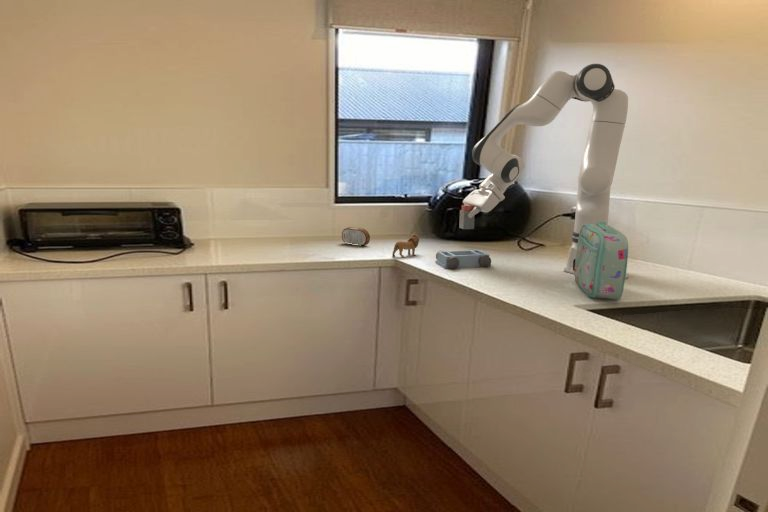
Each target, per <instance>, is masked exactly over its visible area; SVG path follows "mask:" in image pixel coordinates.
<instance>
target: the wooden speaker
mask: <svg viewBox="0 0 768 512" xmlns="http://www.w3.org/2000/svg"><path fill="white" fill-rule="evenodd" d="M341 239H342V242H343V243H345V242H347V243H352V244H358V245H365V246H367V245H369V242H370V240H371V236H370V233H369V231H368V230H367V229H365V228H361V227H353V226H348V227H346V228H343V230H342V232H341Z"/></svg>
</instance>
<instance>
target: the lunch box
mask: <svg viewBox="0 0 768 512" xmlns="http://www.w3.org/2000/svg"><path fill="white" fill-rule="evenodd" d="M628 241H629V240H628V239H627V236H626V235H625V234H623V233H622V232H621V231H619V230H618V229H616V228H614V227H613V226H610V225H607V226H606V222H599V221H598V222H597V224H584V225H583V226H582V228H581V231H580V234H579V238H578V244H577V251H576V258H575V259H574V261H573V271H574V274H573V275H574V282H575V284H576V285H577V286H578V287H579V288H580V290H581V291H583V292H584V293H585V294H586V295H587V296H588V297H590V298H591V299H593V298H594V299H595V298H597V299H609V300H610V299H611V300H618V301H619V300H620V299H621V298H622V296H623V293H624V287H625V282H626V279H625V277H626V274H627V269H628V258H629V242H628Z"/></svg>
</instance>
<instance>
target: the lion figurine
mask: <svg viewBox="0 0 768 512" xmlns="http://www.w3.org/2000/svg"><path fill="white" fill-rule="evenodd" d="M419 242H420V236H419V235H418V234H417V233H413V234H410V237H409V239H408V240H405V241H402V240H398V241H396V242H395V244H394V247H393V251H392V255H391V256H392V258H395V257H396V255H395V253H396V252H397V251H399V255H400V257H401V258H405V255H403V251H404V250H406V251H407V255H408V256H411V255H412V256H413V255H414V257H415V256H416V254H415V251H416V249H417V247H418V246H419ZM411 251H412V253H411ZM410 254H411V255H410Z"/></svg>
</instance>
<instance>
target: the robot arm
mask: <svg viewBox="0 0 768 512" xmlns="http://www.w3.org/2000/svg"><path fill="white" fill-rule="evenodd" d="M615 86H616V85H615V83H614V80H613V77H612V74H611V72H610V70H609V68H608V67H607V66H605V65H603V64H601V63H590V64H588V65H586V66H584V67H583V68H582V69H581V70H580V71H579V72H578V73H576V74H574V75H572V74H569V73H568V72H566V71H561V70H557V71H554V72H553V73H551V74H550V75H549V76H548V77H547V78H546V79H545V80H544V81H543V82H542V83H541V84H540V85H539V87H538V89H537V90H536V91H535V92H534V94H533V95H532V96H531V98H529V99H528V100H527V101H525V102H524V103H522V104H516V105H515V106H513V107H512V108H511V109H510V110H509V111H508V112H507V113H506V114H504V116H503V117H502V118H501V119H500V120H499V121H498V122H497V123H496V125H494V127H493V128H492V129H491V130H490V131H489V132H488V133H487V134H485V136H484V137H482V138H481V139H480V140H479V141H478V142H477V143H475V145H474V146H473V148H472V150H471V154H472V155H471V156H472V161H473V162H474V163H475V164H477V165H478V166H480V167H482V168H483V169H485V170H486V171H488V172H489V173H490V174H489V175H488V176H487V177H485V179H484V180H483V181H482V182H481V183H480V184H479V185H478V188H479V189H474V190H472V191H471V192H470V193H469V194H468V195H467V196H466V197H465V198H463V200H462V204H463V205H473V210H472V211H471V212H469V213H468V214H467V216H468V217H469V218H472V217H473V216H474V215H477V214H478V213H479V214H480V212H482V213H489V212H491V211H492V210H493V209H494V208H495V207H496V206H497V205H498V204H499V203H500V202H502V201H504V200H505V198H506V197H505V195H504V194H505V192H506V190H507V189H508V188H509V187H511V186H512V185H513V184H514V183H515V182H516V181H517V179H519V177H520V175H521V174H522V173H523V171H524V169H525V166H526V165H525V162H524V160H523V159H522V158H521V157H520V156H518V155H517V154H512V153H510V152H509V151H507V150H506V149H504V148H502V146H500V145H498V143H499V142H500V140H502V138H504V136H506V134H507V133H508V132H509V131H511V129H512V128H513V127H516V126H518V125H522V126H523V125H524V126H531V127H544V126H547V125H549V124H551V123H552V122H553V121H554V120H555V119H556V117H557V116H558V115H559V114H560V112H562V109H564V107H565V105H566V104H567V103H568V102H569V101H570V100H571V99H573V100H577V101H581V102H590V103H591V104H592V116H591V119H590V124H589V129H588V132H587V136H586V142H585V146H584V151H583V155H582V159H581V163H580V168H579V172H578V176H577V192H576V193H577V194H576V203H575V204H576V205H575V214H574V215H575V217H574V227H573V231H572V234H571V241H572V244H571V246H570V248H569V250H568V254H567V255H568V256H567V261H566V266H565V267H564V268H563V272H566V273H569V274H573V275H574V271H573V261H574V259H575V258H576V251H577V244H578V238H579V234H580V231H581V228H582V226H583V225H584V224H597V222H598V221H599V222H606V226H609V225H608V222H609V215H610V213H609V212H610V201H611V200H610V199H611V189H612V188H611V187H612V184H613V181H614V176H615V171H616V166H617V161H618V157H619V152H620V148H621V144H622V140H623V136H624V130H625V127H626V121H627V118H628V117H627V116H628V111H629V96H628V94H627V93H626V92H625V91H623V90H621V89H616V88H615ZM628 278H629V274H627V273H626V277H625V280H626V279H628Z"/></svg>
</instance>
